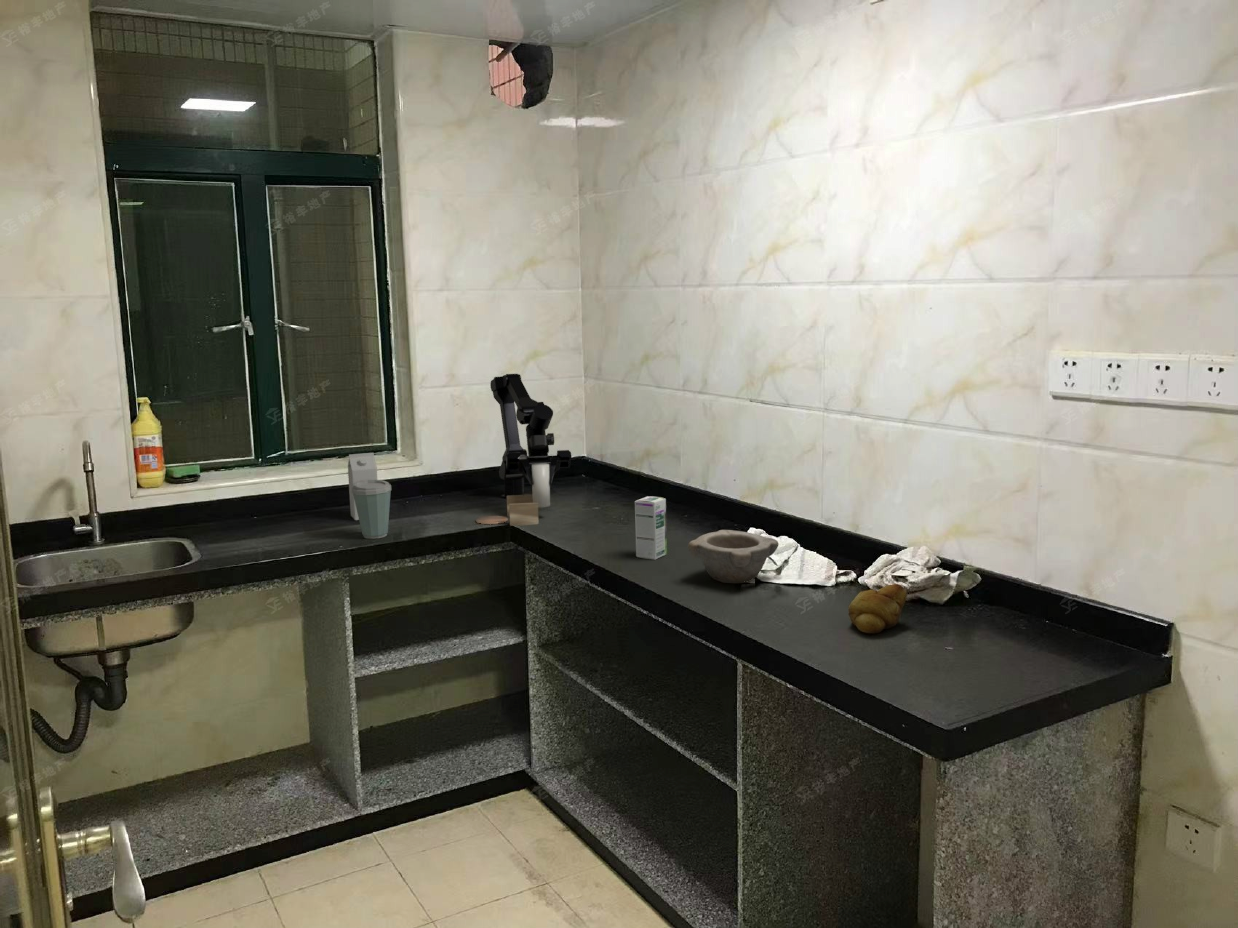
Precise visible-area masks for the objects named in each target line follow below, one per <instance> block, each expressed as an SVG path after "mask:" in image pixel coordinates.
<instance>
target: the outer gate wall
mask: <svg viewBox="0 0 1238 928" xmlns="http://www.w3.org/2000/svg"><path fill="white" fill-rule="evenodd" d="M509 514H510V516H509V526H531V525H539V507H538V503H515V504H509Z"/></svg>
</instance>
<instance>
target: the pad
mask: <svg viewBox="0 0 1238 928" xmlns="http://www.w3.org/2000/svg"><path fill="white" fill-rule="evenodd" d="M475 520H476V523H477V524H479V523H481V524H480V525H484V524H490V525H491V524H495V525H499V524H498V523H502V524H505V523H507V522H508V520H509V518H508V516H507V517H506V516H502V515H486V516H481V517H480V516H479V517H477V518H476V519H475ZM506 521H507V522H506ZM504 522H505V523H504ZM490 525H489V526H490ZM491 526H492V525H491Z"/></svg>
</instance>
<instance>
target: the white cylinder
mask: <svg viewBox="0 0 1238 928" xmlns="http://www.w3.org/2000/svg"><path fill="white" fill-rule="evenodd" d="M549 473H550V463H535V464H531V475H532V480H533V485H531V489H532V490H531V491H532V495H533V503H538V508H547V507H548V508H549V507H550V506H551V484H550V481H549Z"/></svg>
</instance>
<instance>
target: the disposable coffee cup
mask: <svg viewBox="0 0 1238 928" xmlns="http://www.w3.org/2000/svg"><path fill="white" fill-rule="evenodd" d="M391 491H392V485H391V483H390V482H388V481H386V480H384V479H383V480H381V479H378V478H377V479H366V480H360V481H357V482H354V484H353V487H352V493H353V496H354V500H355V504H356V509H357V513H358V517H359V520H358V521H359V525H360V529H361V534H362V535H363V538H364V539H370V540H375V539H381V538H385V537H387V536H388V533H389V518H390V505H391V503H390V502H391Z"/></svg>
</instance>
